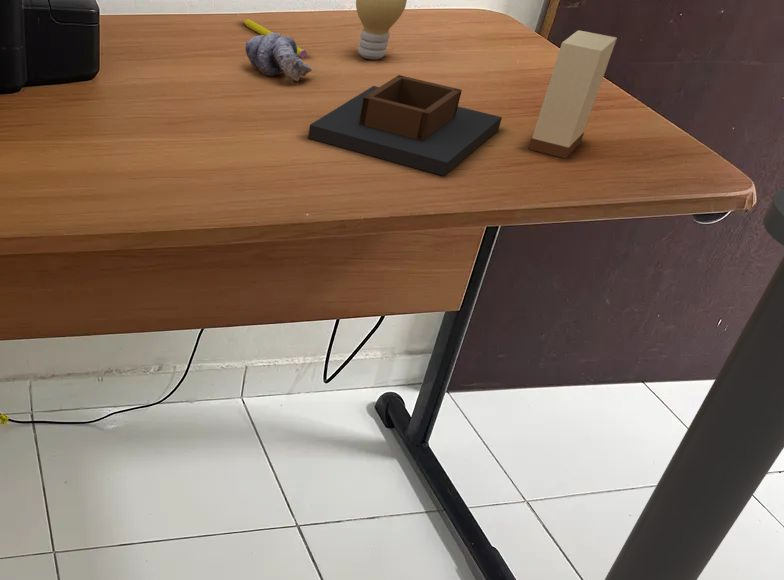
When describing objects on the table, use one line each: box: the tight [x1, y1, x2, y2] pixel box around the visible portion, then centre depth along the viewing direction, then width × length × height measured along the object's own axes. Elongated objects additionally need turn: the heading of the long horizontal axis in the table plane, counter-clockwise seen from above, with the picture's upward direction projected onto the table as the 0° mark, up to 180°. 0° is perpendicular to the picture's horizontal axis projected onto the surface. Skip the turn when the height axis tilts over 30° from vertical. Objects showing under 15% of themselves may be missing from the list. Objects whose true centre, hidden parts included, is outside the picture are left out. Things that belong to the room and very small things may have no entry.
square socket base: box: [307, 74, 503, 177], centre depth 100 cm, size 16×16×4 cm
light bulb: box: [355, 0, 407, 60], centre depth 118 cm, size 6×6×10 cm
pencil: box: [243, 18, 307, 59], centre depth 125 cm, size 16×1×1 cm, turn 24°
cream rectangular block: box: [527, 29, 618, 159], centre depth 96 cm, size 4×6×11 cm
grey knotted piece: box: [245, 31, 313, 82], centre depth 113 cm, size 5×5×10 cm
